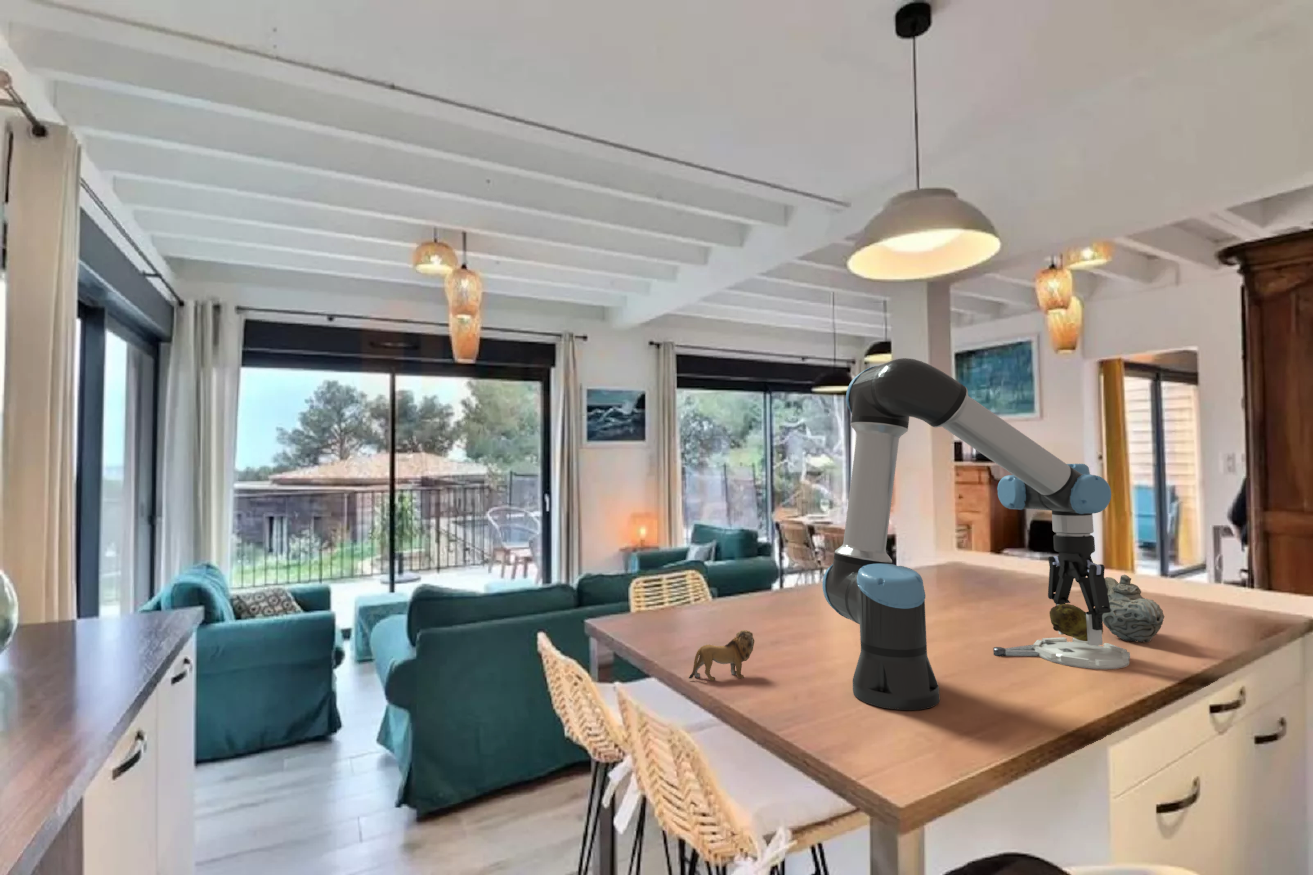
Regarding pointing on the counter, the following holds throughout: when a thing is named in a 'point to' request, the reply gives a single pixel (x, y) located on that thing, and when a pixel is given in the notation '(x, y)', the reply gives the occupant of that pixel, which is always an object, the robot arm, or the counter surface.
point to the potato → (1069, 621)
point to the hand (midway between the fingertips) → (1079, 639)
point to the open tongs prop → (1019, 650)
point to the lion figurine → (725, 654)
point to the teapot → (1131, 612)
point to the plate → (1082, 654)
